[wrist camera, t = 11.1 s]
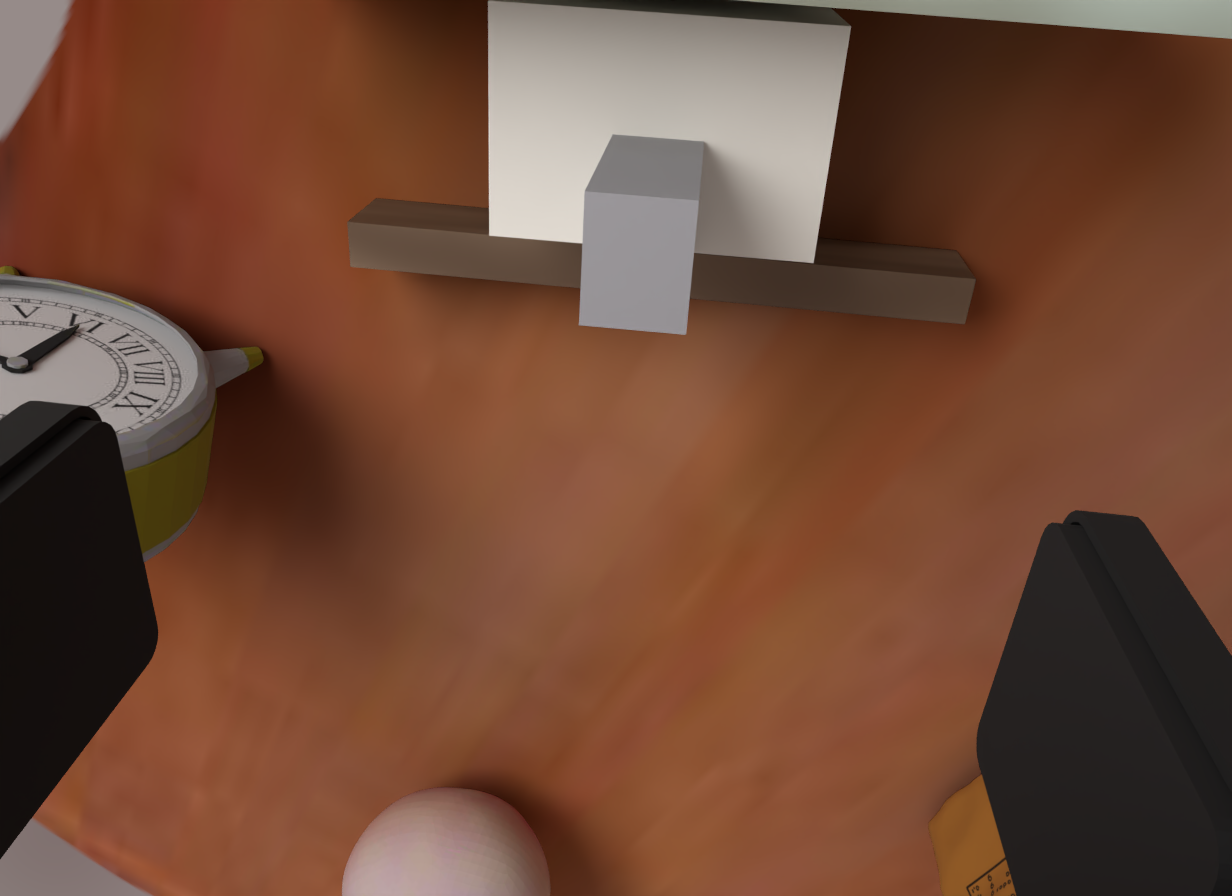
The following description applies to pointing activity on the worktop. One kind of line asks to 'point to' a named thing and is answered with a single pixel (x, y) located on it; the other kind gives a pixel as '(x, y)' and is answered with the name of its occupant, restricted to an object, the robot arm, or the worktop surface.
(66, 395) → the alarm clock
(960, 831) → the coffee package
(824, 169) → the white block gray post
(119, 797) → the worktop surface
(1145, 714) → the robot arm
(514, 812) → the decorative fruit
